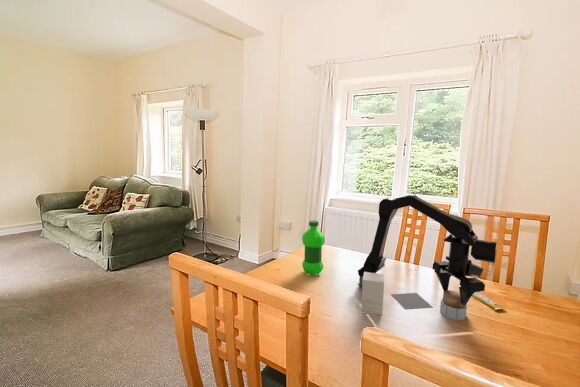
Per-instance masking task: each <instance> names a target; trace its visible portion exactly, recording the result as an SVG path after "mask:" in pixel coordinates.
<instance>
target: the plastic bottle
mask: <svg viewBox="0 0 580 387" xmlns="http://www.w3.org/2000/svg"><path fill="white" fill-rule="evenodd" d="M308 226H309V229H308V230H306V231H305V232H303V233H302V236H301V241H302V244H303V245H304V259H303V261H302V265H301V266H302V269H303V271H304V272H305V273H306V274H307V273H308V274H310V275H309V276H312V275H315V276H317V275H319V274H320V273H321V272H322V271H323V269H324V264H323V262H322V251H323V250H322V246H324V244H325V241H326V239H325V235H324V233H322V232H321V231H320V230H319V229H318V226H319V221H318V220H309V221H308ZM308 274H307V275H308ZM316 274H317V275H316Z"/></svg>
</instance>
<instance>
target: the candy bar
mask: <svg viewBox="0 0 580 387" xmlns="http://www.w3.org/2000/svg"><path fill="white" fill-rule="evenodd" d="M471 297H472V298H474V299H475V300H477V301H479V302H480V303H481V304H483V305H486V306H487V307H489V308H490V309H493V310H496V311H498V310H505V308H504V307H502V306H501V305H500V304H498V303H497V302H495V301H493V300H491V299H489V298H487V297H486V296H484V295H482V294H480V293H479V292H475V293H474V294H473V295H472V296H471Z"/></svg>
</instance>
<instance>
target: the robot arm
mask: <svg viewBox="0 0 580 387" xmlns="http://www.w3.org/2000/svg"><path fill="white" fill-rule="evenodd" d="M406 207H410V208H413V209H414V210H416V211H417V212H419V213H421V214H423V215H424V216H427V217H428V218H429V219H431V220H432V221H433V220H434V221H435V222H437V223H438V224H440V225H441V226H442V227H443V228H444V229H445V231H447V233H449V235H448V236H446V237H445V238H444V239H443V241H444V242H446V243H447V242H448V243H449V252H448V255H447V256H445V260H440V261H434V262H433V263H432V270H433V271H434V273H435V275H436V276H437V278H438V281H439V283H440V285H441V288H442V291H443V292H444V291H446V290H449V286H450V280H451V277H453V278H456V279H457V280H459V286H458V288H459V291H458V292H460V297H461V303H462V305H463V306H464V305H466V304H467V305H468V302H469V301H470V299H471V297H472V295H473V294H474V293H475V292H477V293H479V292H485V289H486V283H484V282H483V281H482V280H480V279H478V278H481V276H482V274H483V272H484V268H482V267H481V266H479V265H477V264H475V263H472V260H471V259H470V258H469V253H470V256H472V258H473V259H474V260H475V261H481V262H485V263H490V264H495V263H496V257H497V242H496V241H493V240H482V239H479V237H478V236H477V234H476V233H475V232H474V230H473V225H472V222H471V221H470V220H468V219H466V218H464V217H461V216H459V215H454V214H450V213H448V212H445V211H443V210H442V209H440V208H439V207H436V206H435V205H433V204H431V203H429V202H427V201H426V200H425V199H422V198H420V197H419V196H418V195H416V194H415V193H414V194H413V193H411V194H408V195H405V196H401V197H394V196H389V197H386V198H383V199H381V200H380V202H379V204H378V217H379V220H378V223H377V228H376V230H375V236H374V239H373V243H372V247H371V250H370V252H369V253H368V256H367V257H366V259H365V261H364V263H363V266H362V267H361V268H359V269H358V270H357V274H358V276H359V280H358V282H359V283H358V282H357V285H358V286H359V288H360V289H361V290H362V279H363V275H364V272H369V273H377V272H379V271H381V269H383V268H384V267H385V261H387V257H386V256H384V253H383V252H384V249H385V248H384V247H385V244H386V242H387V237H388V234H389V230H390V227H391V223H392V220H393V219H394V217H395V216H396V214H397V212H398V210H399V209H402V208H406ZM470 247H471V248H470ZM472 275H473V276H477V277H478V278H476V277H472ZM467 276H469V277H467Z"/></svg>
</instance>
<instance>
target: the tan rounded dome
mask: <svg viewBox="0 0 580 387" xmlns="http://www.w3.org/2000/svg"><path fill="white" fill-rule="evenodd" d="M442 298H443V302H444V303H445V304H446V305H448V306H450V307H453V308H464V307H465V306H466V305H464V306H463V305H462V303H461V297H460V291H456V290H452V289H451V290H450V289H448V290H446V291H443V292H442Z"/></svg>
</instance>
